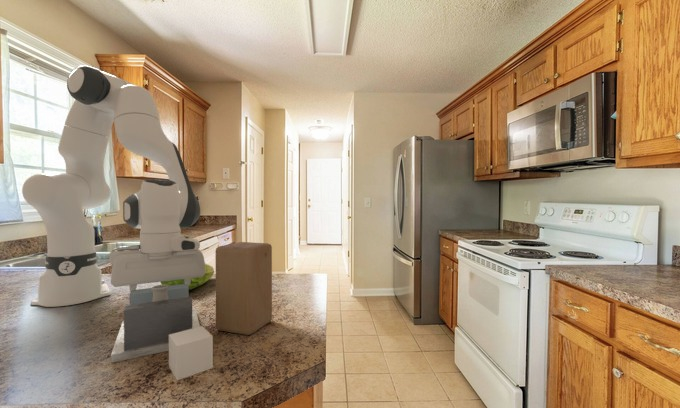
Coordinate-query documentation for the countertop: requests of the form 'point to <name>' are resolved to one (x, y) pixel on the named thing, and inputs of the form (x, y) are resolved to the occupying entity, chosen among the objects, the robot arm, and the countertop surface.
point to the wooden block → (243, 287)
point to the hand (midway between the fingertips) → (161, 298)
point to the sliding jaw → (147, 294)
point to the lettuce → (193, 279)
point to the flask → (160, 293)
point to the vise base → (152, 327)
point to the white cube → (190, 352)
